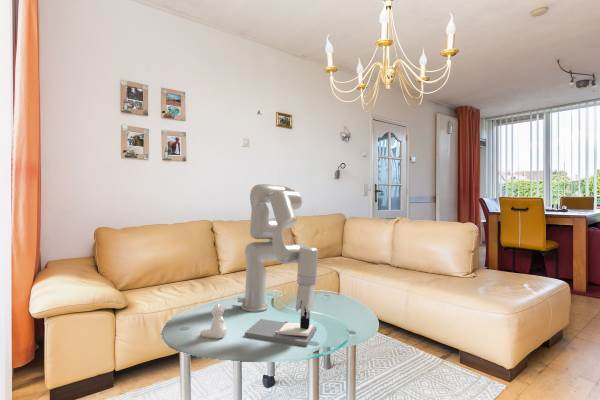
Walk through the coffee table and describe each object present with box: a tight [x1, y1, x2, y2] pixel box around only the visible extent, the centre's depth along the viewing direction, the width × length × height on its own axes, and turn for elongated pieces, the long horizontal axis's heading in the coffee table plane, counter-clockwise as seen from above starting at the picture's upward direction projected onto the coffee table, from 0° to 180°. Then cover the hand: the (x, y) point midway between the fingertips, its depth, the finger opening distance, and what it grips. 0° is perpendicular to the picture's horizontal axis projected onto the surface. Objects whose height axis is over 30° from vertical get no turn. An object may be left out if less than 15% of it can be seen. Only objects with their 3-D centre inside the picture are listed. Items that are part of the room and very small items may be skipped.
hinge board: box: [244, 318, 317, 347], centre depth 128 cm, size 24×16×3 cm, turn 75°
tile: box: [279, 322, 315, 336], centre depth 126 cm, size 11×10×1 cm
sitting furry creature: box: [199, 303, 228, 340], centre depth 123 cm, size 10×9×12 cm
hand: (304, 327), depth 125 cm, fingers closed
